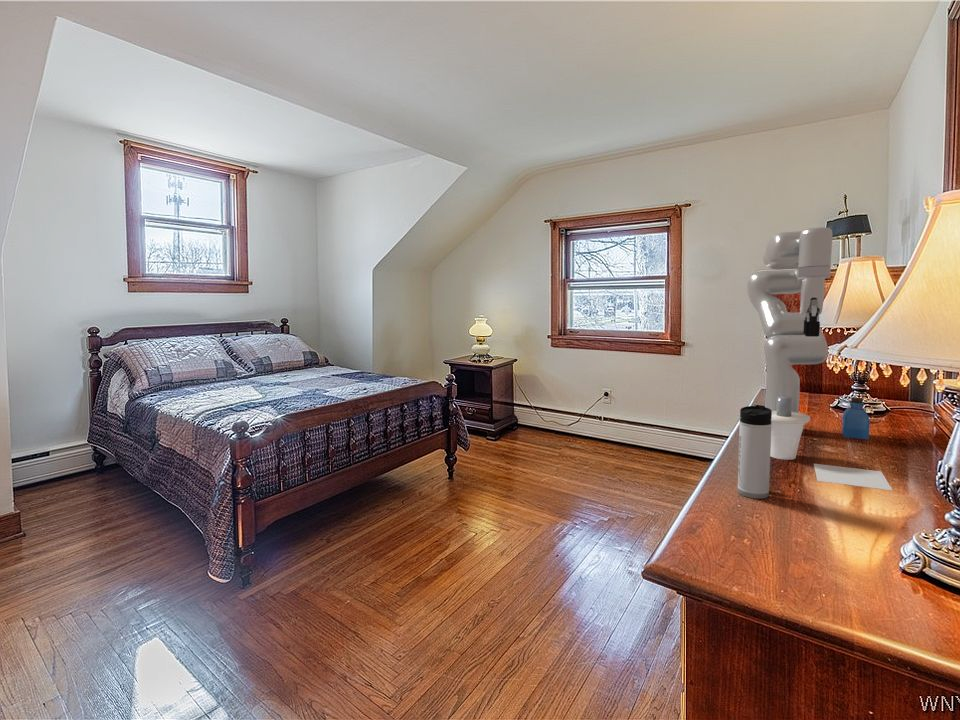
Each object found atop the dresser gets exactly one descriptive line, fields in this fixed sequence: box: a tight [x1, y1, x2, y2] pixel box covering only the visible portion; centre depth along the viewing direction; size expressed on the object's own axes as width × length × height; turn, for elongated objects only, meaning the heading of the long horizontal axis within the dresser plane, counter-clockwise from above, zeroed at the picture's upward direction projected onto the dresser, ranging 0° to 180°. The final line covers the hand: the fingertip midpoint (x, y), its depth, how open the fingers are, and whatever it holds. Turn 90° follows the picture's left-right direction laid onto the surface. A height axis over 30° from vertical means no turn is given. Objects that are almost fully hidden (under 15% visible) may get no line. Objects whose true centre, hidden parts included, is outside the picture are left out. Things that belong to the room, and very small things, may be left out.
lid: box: [771, 396, 811, 425], centre depth 136 cm, size 12×12×6 cm
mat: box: [813, 463, 894, 491], centre depth 121 cm, size 14×14×1 cm
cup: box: [770, 422, 805, 461], centre depth 137 cm, size 10×10×11 cm
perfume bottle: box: [841, 397, 871, 440], centre depth 156 cm, size 6×6×12 cm
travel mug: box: [737, 404, 772, 500], centre depth 112 cm, size 6×7×20 cm
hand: (811, 335), depth 140 cm, fingers open, 9 cm apart
